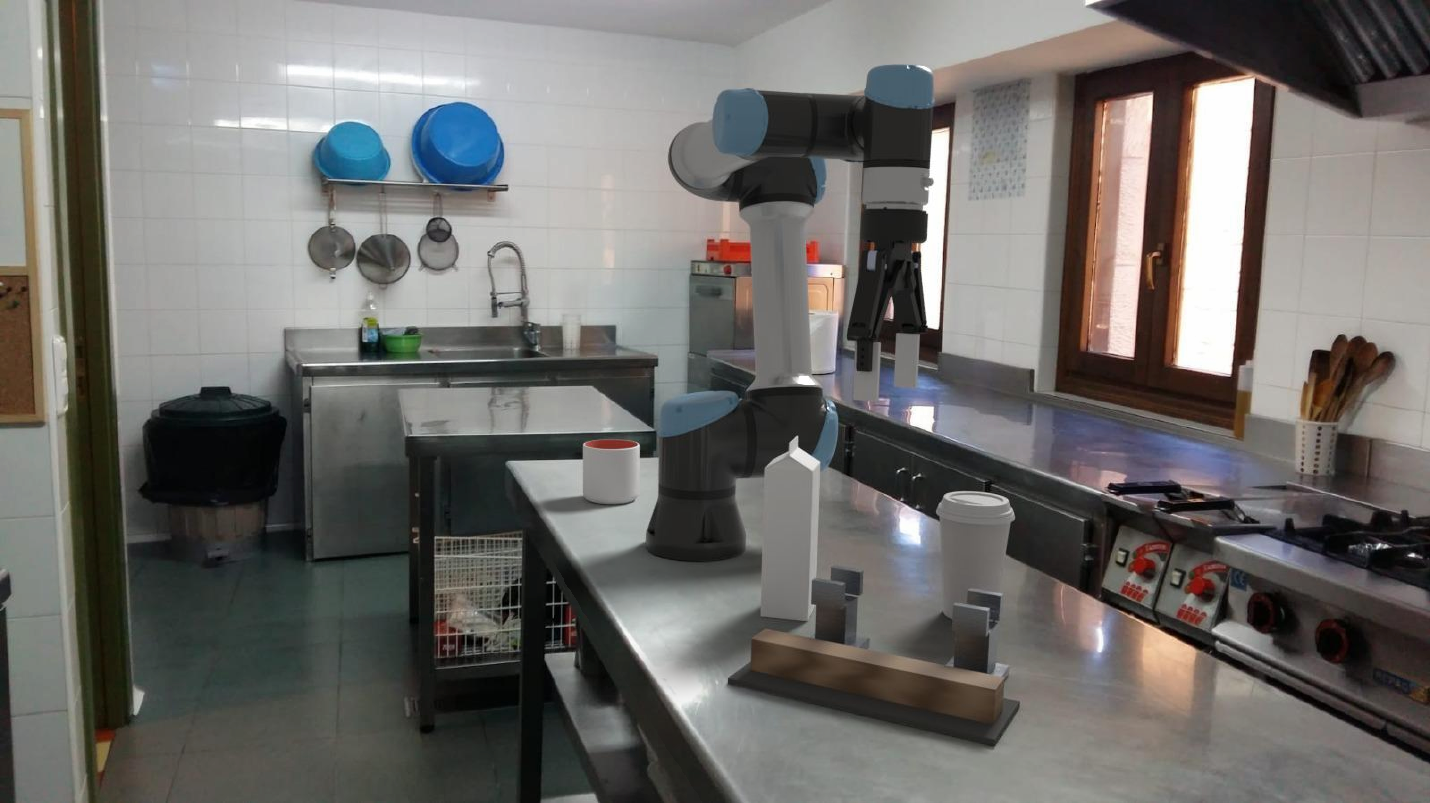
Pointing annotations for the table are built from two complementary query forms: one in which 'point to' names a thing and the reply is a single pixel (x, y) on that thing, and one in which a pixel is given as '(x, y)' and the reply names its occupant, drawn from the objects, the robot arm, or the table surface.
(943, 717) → the mat
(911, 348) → the robot arm
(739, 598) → the table surface
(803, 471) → the milk
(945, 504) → the coffee cup
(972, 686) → the rail
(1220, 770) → the table surface
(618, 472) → the cup
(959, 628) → the post
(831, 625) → the post
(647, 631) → the table surface
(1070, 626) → the table surface
